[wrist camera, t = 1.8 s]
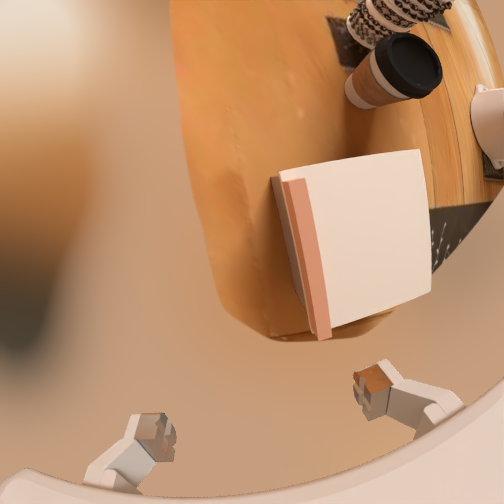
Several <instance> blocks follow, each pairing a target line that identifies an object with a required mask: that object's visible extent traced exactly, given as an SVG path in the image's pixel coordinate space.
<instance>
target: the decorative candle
mask: <svg viewBox="0 0 504 504" xmlns="http://www.w3.org/2000/svg"><path fill="white" fill-rule="evenodd" d="M451 1H454V0H362V3H361V2H360V3H358V6H357V7H355V8H354V9H353V12H351V13H350V16H349V17H348V18H347V22H346V25H347V28H348V31H349V33H350V34H351V35H352V37H353V38H354V39H355V40H356V41H358V42H359V43H360V44H361V45H363V46H365V47H367V48H369V49H371V50H372V49H373V48H375V46H376V43H377V42H378V40H379V39H381V38H382V37H384V36H387V35H393V34H396V33H402V32H404V33H408V32H410V29H412V27H413V26H414V25H415V24H417V23H424V22H428V19H430V18H431V17H432V18H434V17H435V15H436V14H437V13H441V14H443V13H444V11H445V9H451V6H452V3H451ZM439 7H440V8H439Z"/></svg>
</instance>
